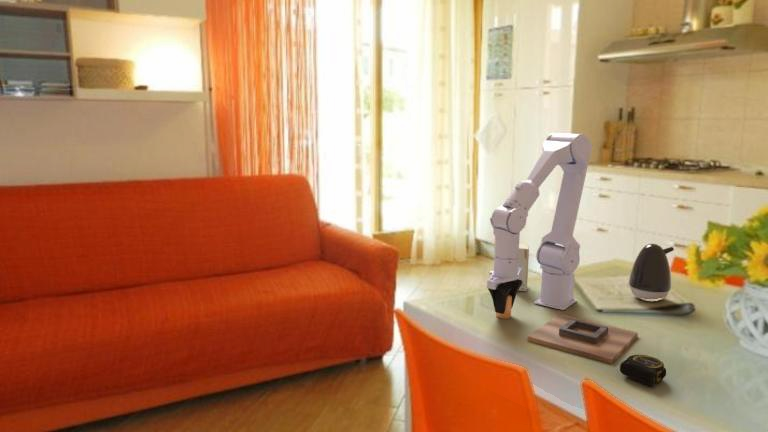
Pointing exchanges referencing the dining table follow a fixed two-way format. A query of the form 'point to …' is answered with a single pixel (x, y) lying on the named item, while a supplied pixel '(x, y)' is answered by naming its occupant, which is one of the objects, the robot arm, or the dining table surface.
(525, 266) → the skincare box
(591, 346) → the socket
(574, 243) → the robot arm
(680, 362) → the dining table surface
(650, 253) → the pump dispenser
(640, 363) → the tape measure
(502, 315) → the peg
